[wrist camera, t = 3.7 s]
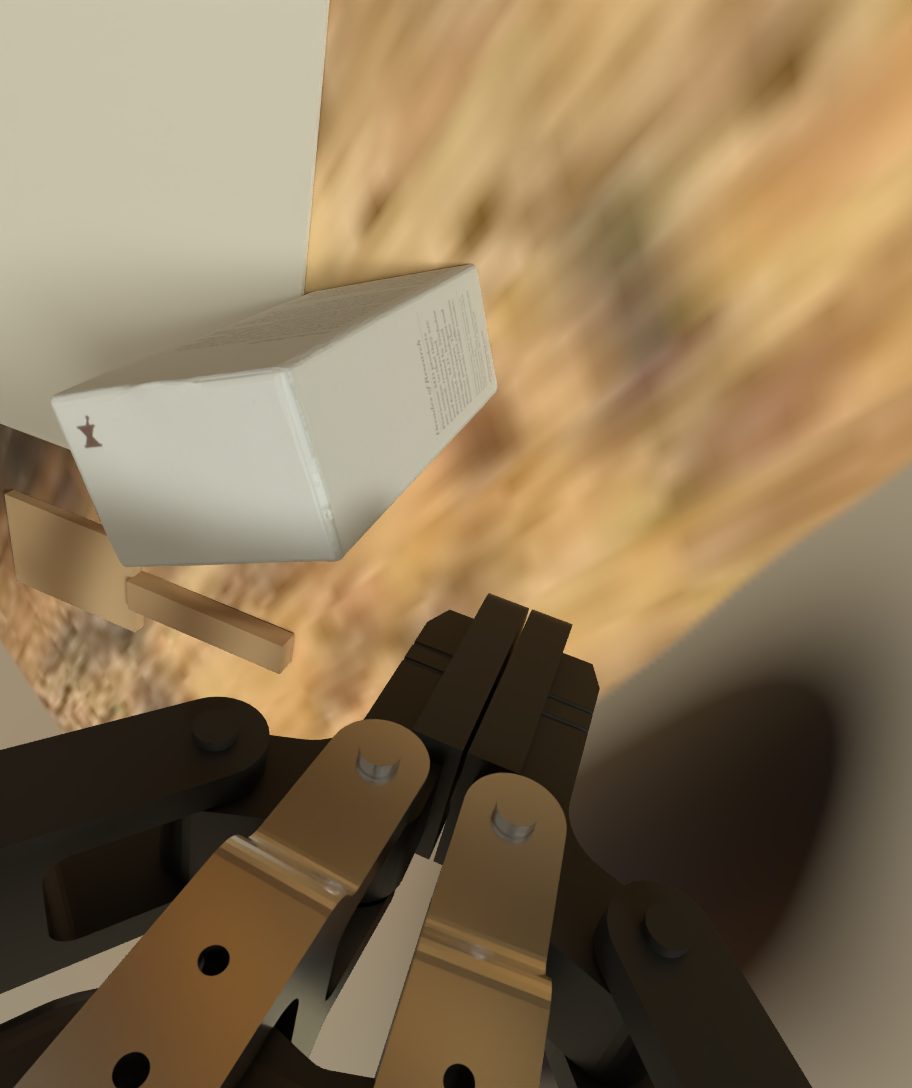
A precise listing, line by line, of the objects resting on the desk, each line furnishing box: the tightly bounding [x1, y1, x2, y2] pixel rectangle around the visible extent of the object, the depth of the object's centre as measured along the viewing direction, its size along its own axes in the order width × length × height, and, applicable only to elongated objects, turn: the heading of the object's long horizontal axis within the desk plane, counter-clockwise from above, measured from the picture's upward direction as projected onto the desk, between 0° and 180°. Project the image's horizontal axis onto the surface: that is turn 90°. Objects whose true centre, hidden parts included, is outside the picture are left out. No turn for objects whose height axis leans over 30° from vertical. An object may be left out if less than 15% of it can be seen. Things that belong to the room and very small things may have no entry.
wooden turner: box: [5, 490, 294, 674], centre depth 35 cm, size 15×5×1 cm, turn 78°
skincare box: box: [50, 264, 497, 567], centre depth 20 cm, size 6×4×12 cm
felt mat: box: [0, 0, 330, 450], centre depth 28 cm, size 17×18×1 cm
